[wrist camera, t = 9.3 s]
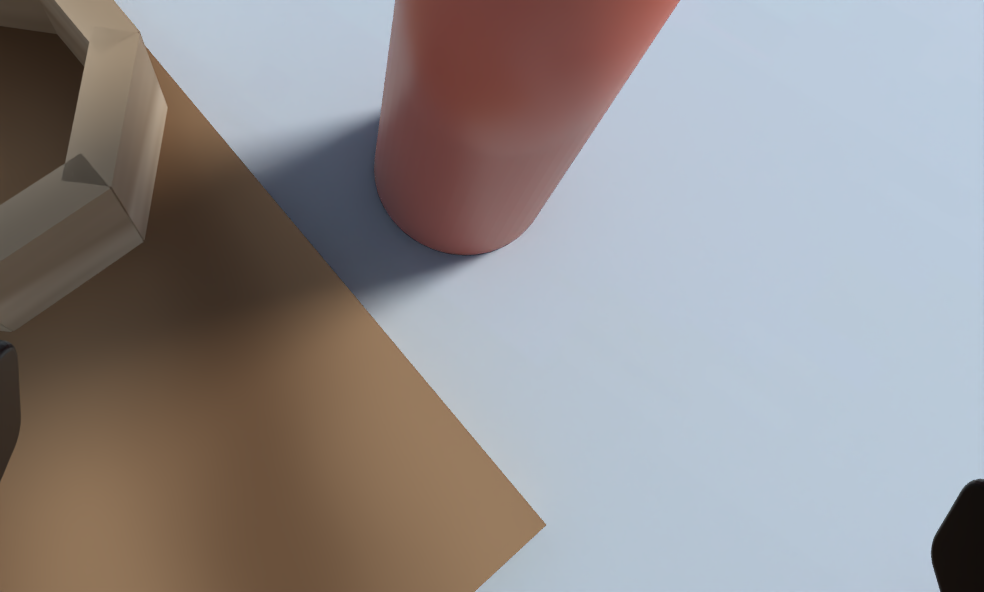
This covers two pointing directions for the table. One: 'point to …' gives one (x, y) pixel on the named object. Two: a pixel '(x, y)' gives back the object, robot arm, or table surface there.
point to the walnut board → (201, 359)
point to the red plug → (496, 108)
